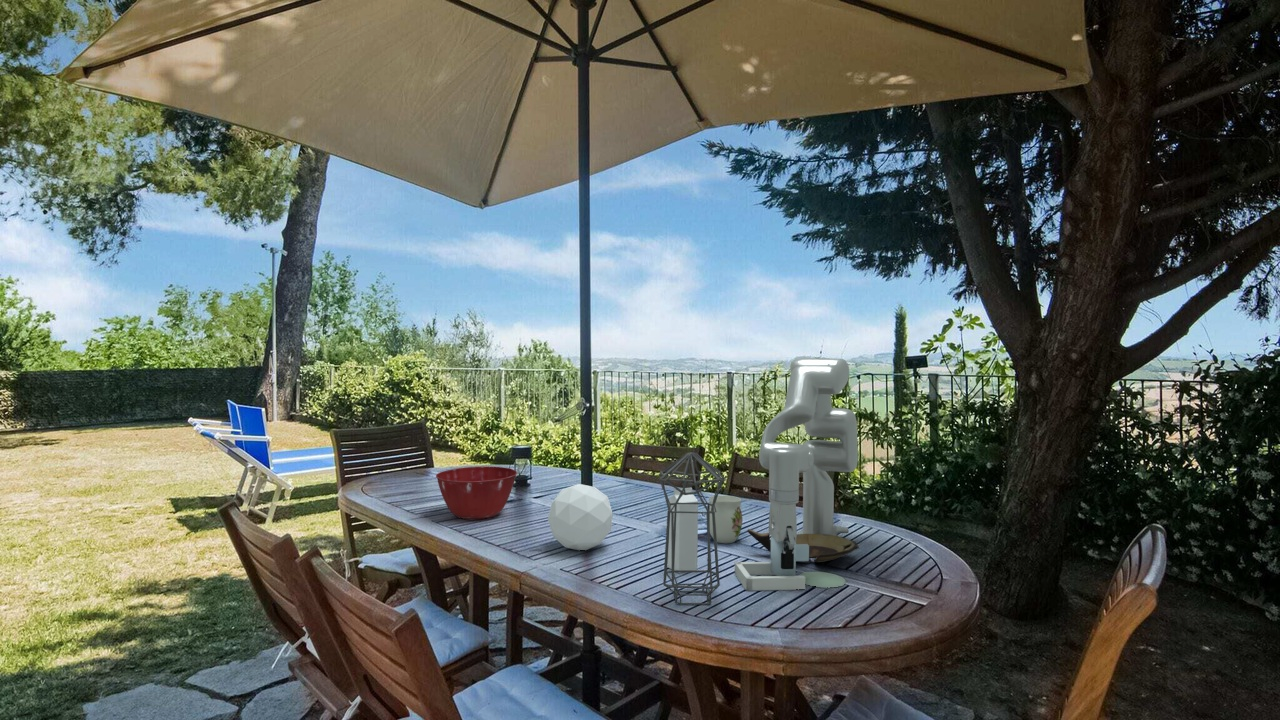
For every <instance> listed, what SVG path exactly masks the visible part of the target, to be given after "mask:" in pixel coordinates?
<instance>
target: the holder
mask: <svg viewBox="0 0 1280 720" xmlns="http://www.w3.org/2000/svg"><path fill="white" fill-rule="evenodd" d="M734 575H735V576H736V578H737V579H738V581H739V582H740V584H741V585H742V586H743V588H744V590H745V591H746V592H748V591H749V592H750V591H789V590H790V591H797V590H796V589H798V591H799V589H805V590H806V585H805V577H804V576H798V575H793V576H778V575H775V574H773V573H771V561H735V562H734Z"/></svg>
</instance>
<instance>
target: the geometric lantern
mask: <svg viewBox="0 0 1280 720" xmlns="http://www.w3.org/2000/svg"><path fill="white" fill-rule="evenodd" d="M696 461H697V462H698V463H699V464H700V465H701V466H702V468H704V469H705V470H702V471H700V470H699V467H698V465H697V462H696ZM685 462H686V463H685ZM683 463H685V468H684V470H683V471H684V472H682V471H677V470H678V469H679V468H680V467H681V466H682V465H683ZM690 465H691V473H689V472H690ZM695 470H696V473H695ZM721 473H722V471H721V470H720V469H718V468H717V467H715V466H714V465H712V464H711V463H709V462H708V461H707V460H705V459H704V458H702V456H700V455H699V454H698V453H697V452H692V451H691V452H687V453H685V454H684V455H682V456H681V457H680V458H677V459H676V460H675V461H673V462H672V463H671V464H669V465H667V466H665V467H664V468H663V469H662V470H660V471H659V476H660V477H659V478H658V479H659V483H660V485H661V489H662V490H663V495H664V499H665V502H666V507H667V513H666V531H665V532H666V533H665V547H664V565H663V566H664V568H663V582H662V585H663V587H666V588H667V589H668V590H670V592H672V594H673V596H674V600H675V601H676V602H675V604H676V603H678V604H677V605H680V604H692V605H693V606H694V604H695V605H697V606H700V605H702V606H704V605H705V606H710V604H712V594H713V593H714V592H715V591H716V590H717V589H718V588H719V587H720V586H721V581H720V580H721V579H720V569H719V555H718V542H717V538H716V523H715V512H717V511H716V508H715V502H716V500H717V497H718V496H719V493H720V492H722V491H723V482H727V481H728V480H727V478H726V477H724V476H723V475H722V474H721ZM674 474H676V475H683V476H682V478H680V477H678V476H676V475H674ZM701 474H707V475H705V476H704V477H703V478H701ZM668 475H669V476H668ZM667 476H668V477H667ZM686 476H687V477H686ZM710 476H712V477H714V478H715V479H708V478H709V477H710ZM670 477H672V478H670ZM690 477H692V478H693V479H690ZM696 477H698V479H697V480H696ZM706 479H708V480H706ZM665 482H666V483H667V484H668V485H669V486H671V487H672V488H674V490H675V489H676V490H678V491H679V492H680V495H679V497H678V499H677V501H676V503H670V502H669V497H668V494H667V491H666V486H665ZM672 482H674V483H675V482H677V483H681V485H682V488H683V489H682V488H679V487H678V486H676V485H675V484H674V483H672ZM706 483H709V484H706ZM701 484H706V485H705V486H703V487H702V488H699V487H698V486H699V485H701ZM714 484H716V490H715V492H714V495H713V496H714V499H713V503H712V504H710V502H708V501H707V499H706V498H705V496H704V495H703V492H702V491H704V490H706V489H707V488H710V487H711V486H713V485H714ZM687 486H694V487H695V491H692V492H688V493H686V492H685V488H687ZM680 489H682V490H680ZM683 491H684V492H683ZM691 494H693V495H697V496H698V498H699V500H700V502H698V503H678V501H679V500H680V498H681V497H682V495H691ZM677 504H698V505H703V507H704V509H705V510H706V511H698V512H686V511H677ZM671 505H674V506H673V507H672V509H671ZM710 506H712V507H711V511H710ZM674 507H675V511H672V510H673V508H674ZM714 510H715V512H714ZM670 513H671V545H672V569H671V570H668V546H669V528H670ZM676 513H698V514H705V515H706V530H707V532H706V533H707V536H706V537H707V569H703V570H702V569H699V570H698V569H697V570H674V562H675V538H676ZM710 513H712V522H713V536H714V539H713V548H714V550H713V551H714V563H715V571H714V570H713V569H712V553H711V551H712V550H711V534H710ZM712 570H713V571H712ZM677 572H684V573H707V574H706V576H705V578H704V582H697V583H696V582H695V583H692V582H691V583H678V580H677V578H676V574H675V573H677ZM669 574H671V577H670V575H669ZM713 575H714V577H713ZM667 577H668V579H669V580H670V581H671V584H667ZM708 577H709V581H708V582H707V583H706V581H707V579H708ZM715 579H716V583H717V584H715V585H713V582H714V580H715ZM672 588H673V589H672ZM679 589H693V590H679ZM694 589H698V590H694ZM678 596H679V600H678ZM682 596H689V597H690V596H693V597H694V596H701V597H704V596H705V597H706V602H682ZM678 601H679V602H678Z"/></svg>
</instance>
